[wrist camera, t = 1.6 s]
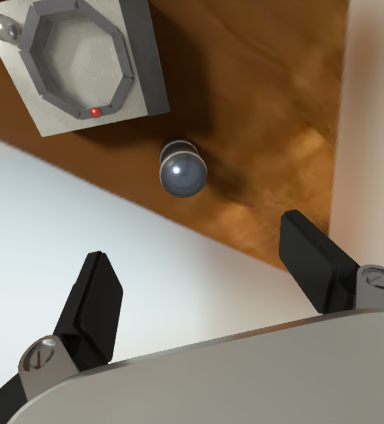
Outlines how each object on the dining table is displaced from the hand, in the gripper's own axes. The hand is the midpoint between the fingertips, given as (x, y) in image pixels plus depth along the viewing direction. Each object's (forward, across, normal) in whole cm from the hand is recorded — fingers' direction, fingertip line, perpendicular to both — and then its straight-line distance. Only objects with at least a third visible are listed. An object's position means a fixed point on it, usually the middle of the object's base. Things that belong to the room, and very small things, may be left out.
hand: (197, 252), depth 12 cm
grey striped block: (+19, +6, -10) cm, 22 cm away
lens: (+19, 0, 0) cm, 19 cm away
